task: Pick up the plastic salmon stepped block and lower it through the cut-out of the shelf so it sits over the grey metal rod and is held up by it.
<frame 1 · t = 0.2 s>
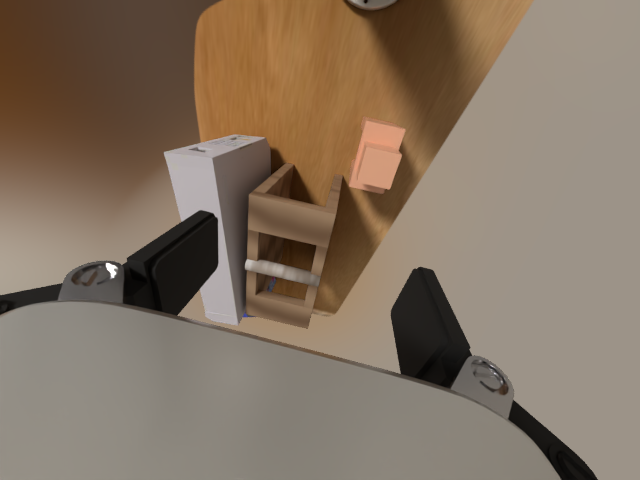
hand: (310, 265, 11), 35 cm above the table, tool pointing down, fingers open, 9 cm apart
shelf: (305, 220, 49), on the table
salmon stepped block: (370, 146, 40), on the table
game console: (259, 203, 49), on the table
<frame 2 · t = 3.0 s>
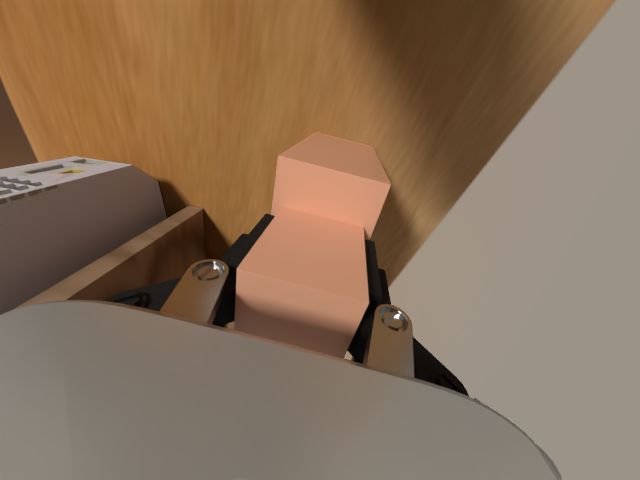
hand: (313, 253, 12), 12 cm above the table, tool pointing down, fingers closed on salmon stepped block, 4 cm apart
shelf: (235, 291, 31), on the table
salmon stepped block: (332, 186, 22), on the table, touching gripper
game console: (160, 263, 30), on the table
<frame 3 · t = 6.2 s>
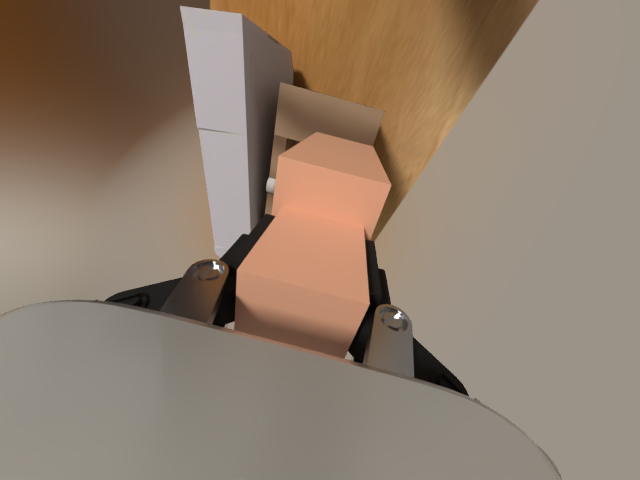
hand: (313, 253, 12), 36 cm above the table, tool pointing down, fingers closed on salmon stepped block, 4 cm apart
shelf: (326, 163, 45), on the table
salmon stepped block: (332, 186, 22), point 24 cm above the table, touching gripper
game console: (275, 142, 44), on the table
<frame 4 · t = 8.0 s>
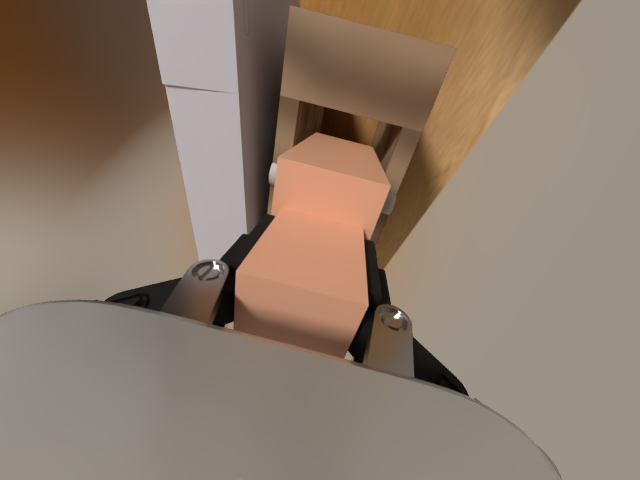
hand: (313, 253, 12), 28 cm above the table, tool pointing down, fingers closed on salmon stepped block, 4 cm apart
shelf: (341, 153, 36), on the table
salmon stepped block: (332, 186, 22), point 16 cm above the table, touching gripper
game console: (278, 128, 35), on the table
when the fingers open (22 cm above the table, at t = 9.4 s): salmon stepped block drops 1 cm, resting on shelf.
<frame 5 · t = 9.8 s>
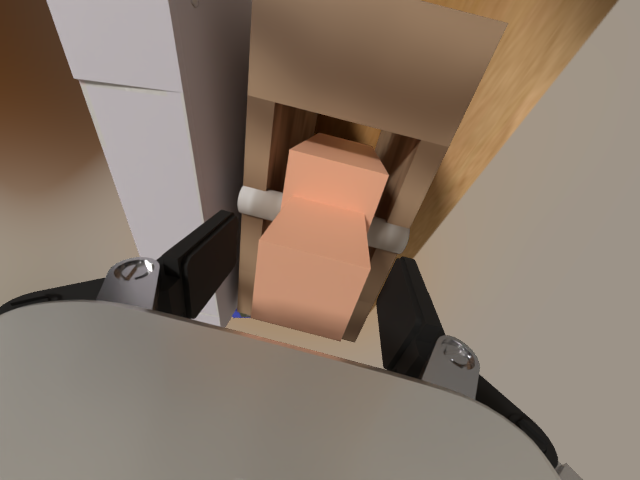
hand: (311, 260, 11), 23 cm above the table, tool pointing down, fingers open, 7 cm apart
shelf: (338, 163, 31), on the table
salmon stepped block: (334, 183, 23), point 9 cm above the table, touching shelf
game console: (265, 134, 30), on the table
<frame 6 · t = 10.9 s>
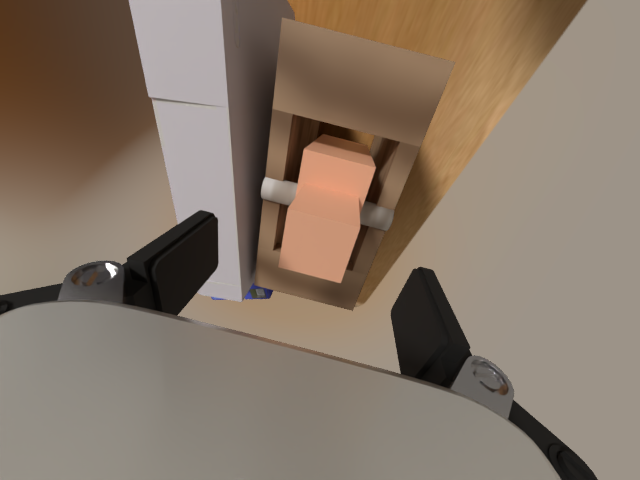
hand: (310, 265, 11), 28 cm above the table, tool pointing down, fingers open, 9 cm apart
ink cartridge box: (263, 245, 44), on the table
shelf: (338, 164, 35), on the table
salmon stepped block: (335, 177, 28), point 9 cm above the table, touching shelf
game console: (274, 138, 35), on the table
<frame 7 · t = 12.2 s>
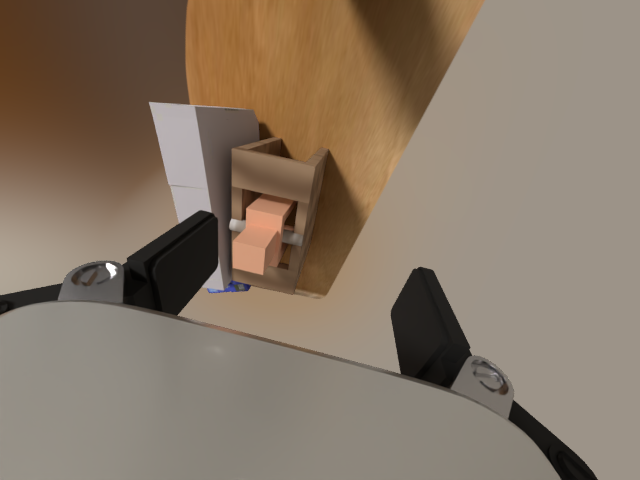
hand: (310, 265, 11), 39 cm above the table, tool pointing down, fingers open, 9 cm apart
ink cartridge box: (247, 253, 60), on the table
shelf: (294, 196, 51), on the table
salmon stepped block: (283, 210, 43), point 9 cm above the table, touching shelf
game console: (249, 180, 50), on the table
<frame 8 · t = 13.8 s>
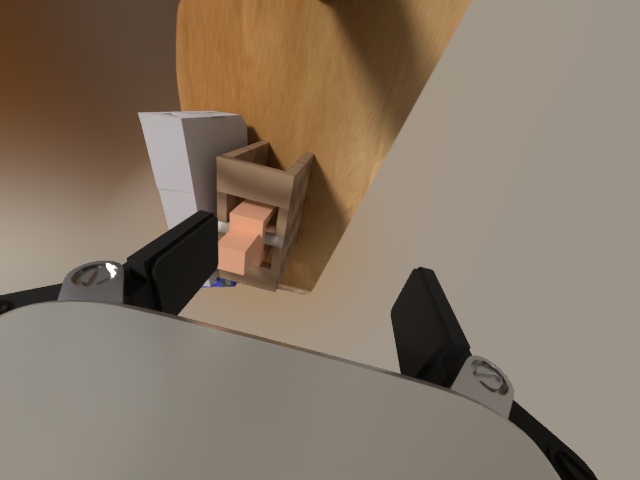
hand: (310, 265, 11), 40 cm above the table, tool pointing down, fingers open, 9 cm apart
ink cartridge box: (236, 249, 62), on the table
shelf: (280, 197, 53), on the table
salmon stepped block: (269, 211, 45), point 9 cm above the table, touching shelf
game console: (237, 180, 52), on the table
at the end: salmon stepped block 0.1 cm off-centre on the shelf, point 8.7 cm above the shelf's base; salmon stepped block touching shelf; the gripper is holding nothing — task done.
